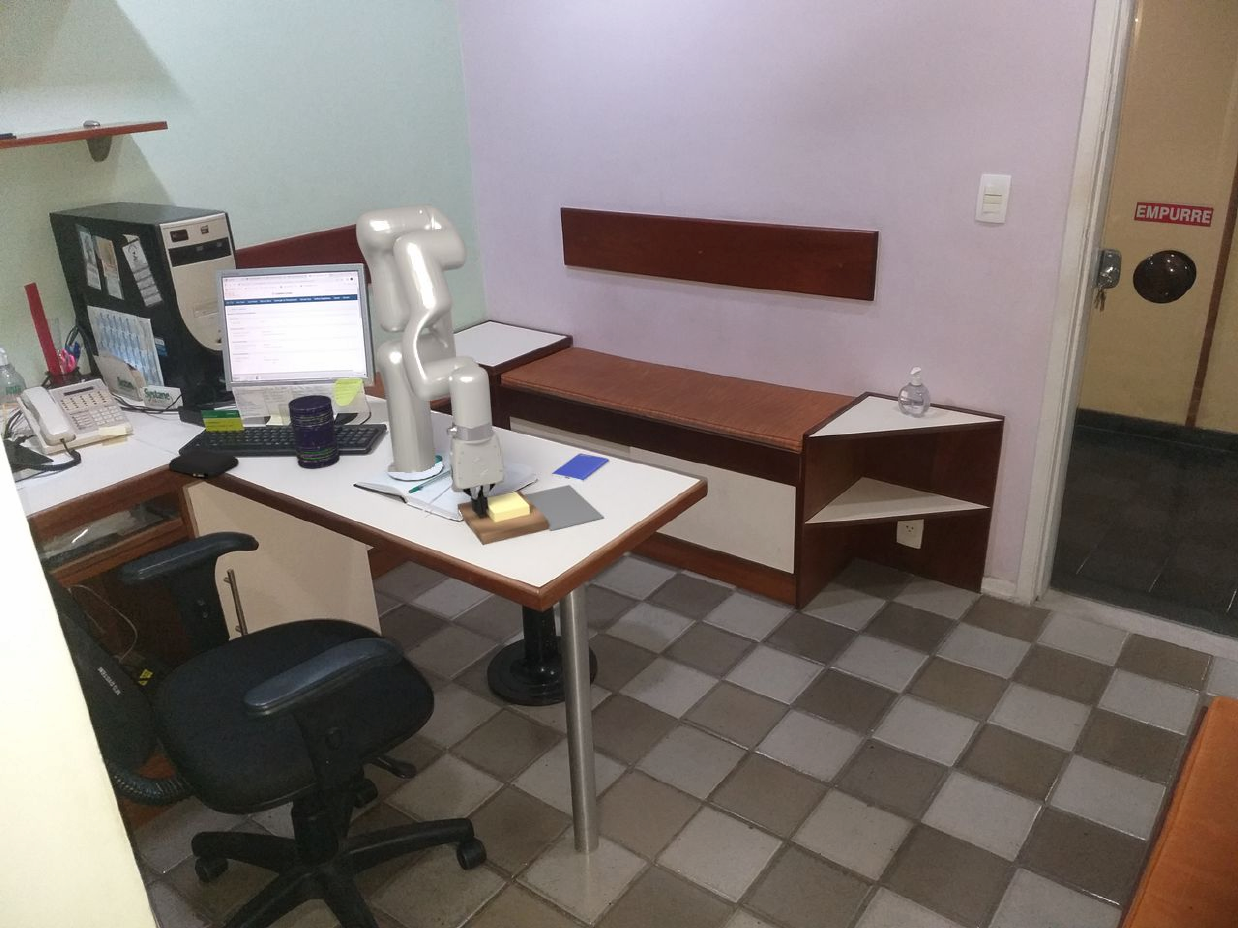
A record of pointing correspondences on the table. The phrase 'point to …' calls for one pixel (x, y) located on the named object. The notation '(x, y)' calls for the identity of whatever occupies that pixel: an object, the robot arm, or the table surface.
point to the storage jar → (314, 431)
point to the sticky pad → (507, 507)
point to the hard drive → (580, 467)
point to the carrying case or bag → (203, 463)
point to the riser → (503, 523)
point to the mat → (563, 507)
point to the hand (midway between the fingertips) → (480, 512)
